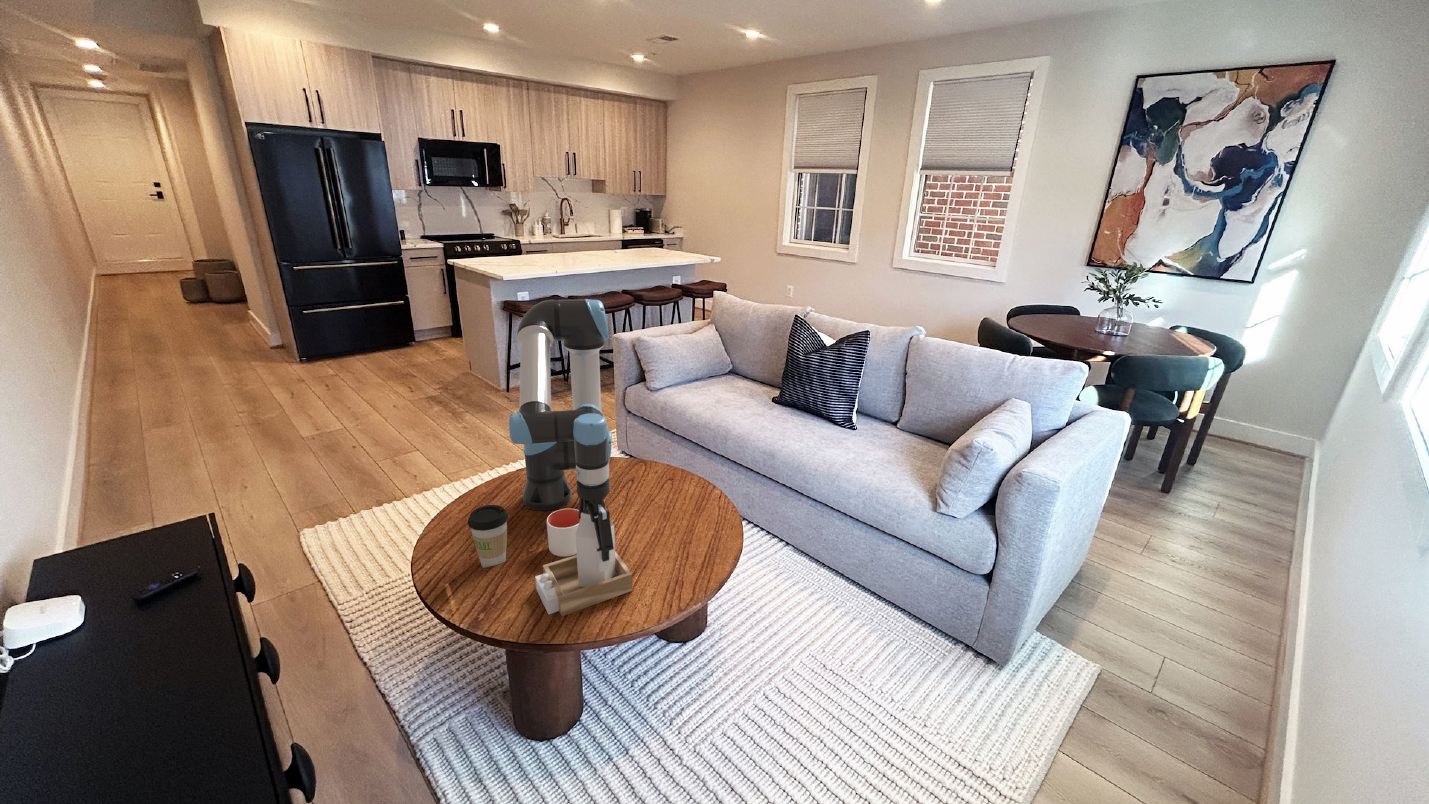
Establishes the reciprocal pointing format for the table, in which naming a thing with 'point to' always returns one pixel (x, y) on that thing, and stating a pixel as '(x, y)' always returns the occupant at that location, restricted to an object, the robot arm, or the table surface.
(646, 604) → the table surface
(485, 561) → the coffee cup
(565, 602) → the crate
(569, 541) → the cup
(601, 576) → the milk carton
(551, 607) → the egg box
